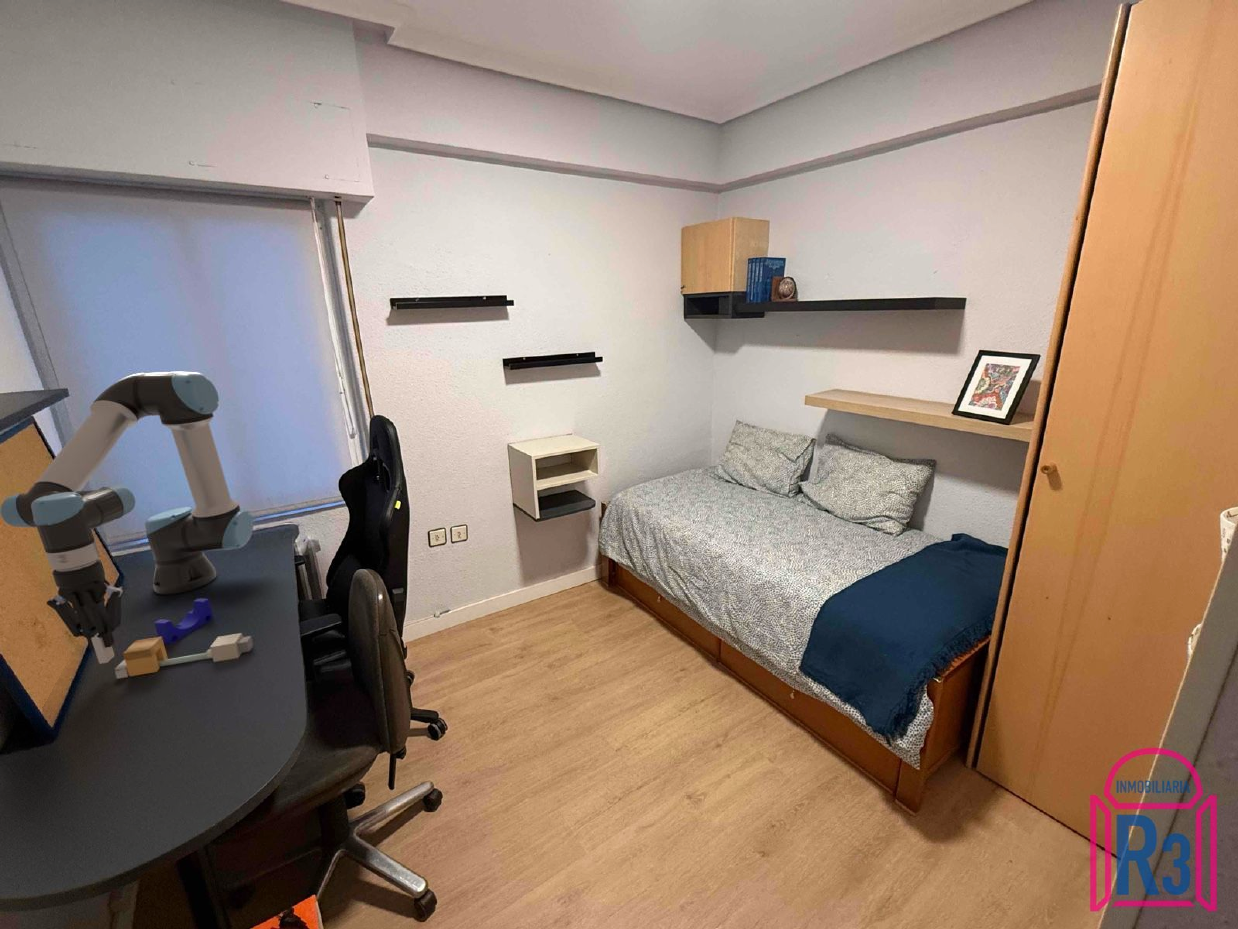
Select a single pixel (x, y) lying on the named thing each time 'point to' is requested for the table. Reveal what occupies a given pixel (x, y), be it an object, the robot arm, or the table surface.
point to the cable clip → (185, 622)
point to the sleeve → (145, 656)
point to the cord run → (218, 651)
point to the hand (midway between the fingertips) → (107, 659)
